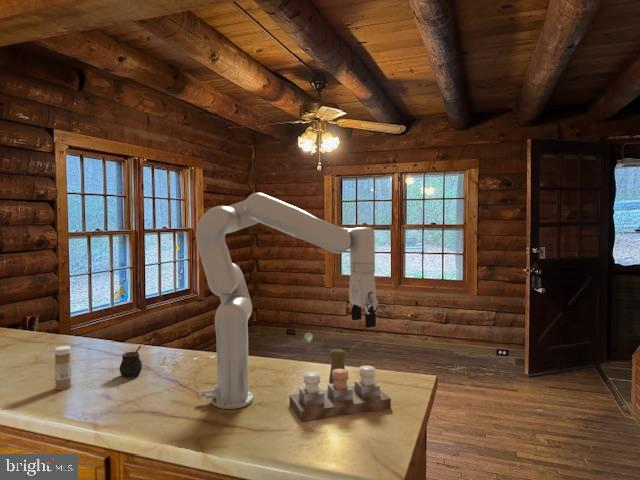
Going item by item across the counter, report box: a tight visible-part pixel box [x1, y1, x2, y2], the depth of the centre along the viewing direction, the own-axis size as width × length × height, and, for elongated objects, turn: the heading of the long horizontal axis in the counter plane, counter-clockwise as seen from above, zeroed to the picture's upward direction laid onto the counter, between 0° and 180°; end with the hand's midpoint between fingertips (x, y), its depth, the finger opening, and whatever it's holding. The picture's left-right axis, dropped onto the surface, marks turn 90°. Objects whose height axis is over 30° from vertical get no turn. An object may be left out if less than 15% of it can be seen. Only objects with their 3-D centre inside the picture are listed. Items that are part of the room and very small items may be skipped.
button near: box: [303, 371, 321, 394], centre depth 126 cm, size 5×5×5 cm
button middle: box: [332, 368, 349, 390], centre depth 129 cm, size 5×5×5 cm
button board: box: [289, 379, 392, 423], centre depth 129 cm, size 28×12×6 cm, turn 110°
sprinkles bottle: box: [53, 345, 72, 391], centre depth 140 cm, size 5×5×13 cm
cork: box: [328, 348, 346, 384], centre depth 149 cm, size 6×6×11 cm
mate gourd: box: [119, 345, 143, 379], centre depth 152 cm, size 7×8×10 cm
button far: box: [358, 365, 376, 386], centre depth 132 cm, size 5×5×5 cm
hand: (363, 323), depth 132 cm, fingers open, 9 cm apart
